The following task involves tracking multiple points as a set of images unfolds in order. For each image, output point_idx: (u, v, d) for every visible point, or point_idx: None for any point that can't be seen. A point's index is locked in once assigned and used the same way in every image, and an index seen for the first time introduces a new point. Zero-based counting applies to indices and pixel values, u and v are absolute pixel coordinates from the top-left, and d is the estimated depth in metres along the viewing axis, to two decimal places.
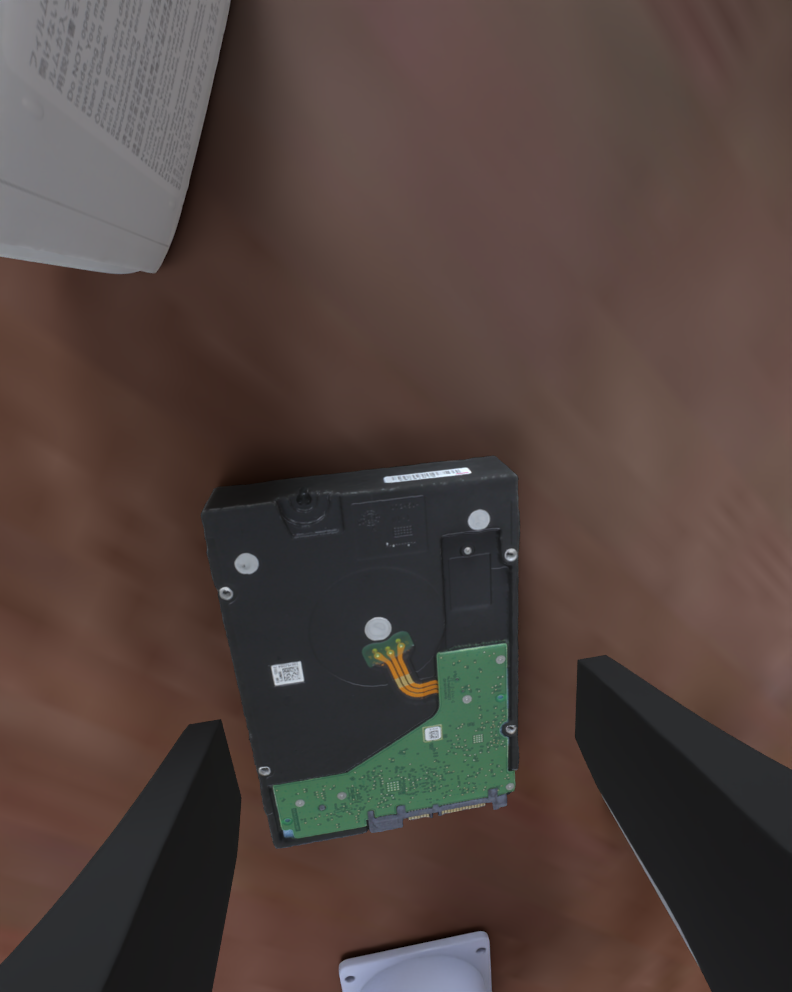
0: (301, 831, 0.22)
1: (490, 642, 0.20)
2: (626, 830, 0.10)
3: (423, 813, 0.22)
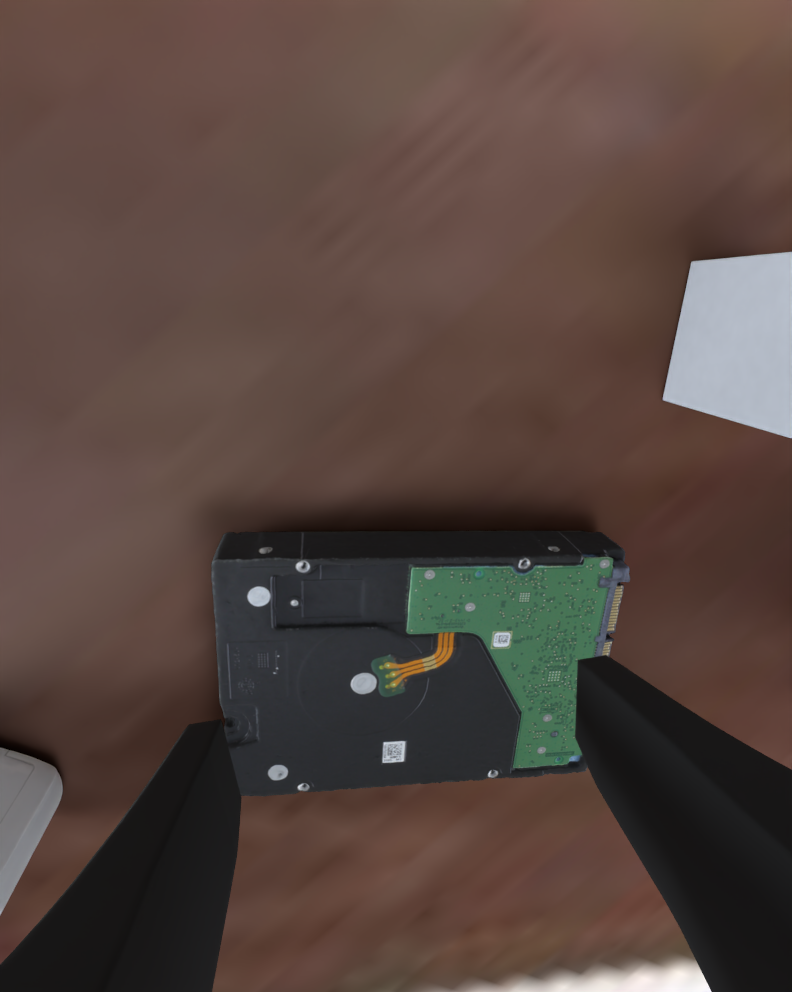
0: (575, 750, 0.22)
1: (408, 580, 0.19)
2: (626, 830, 0.10)
3: (600, 651, 0.21)
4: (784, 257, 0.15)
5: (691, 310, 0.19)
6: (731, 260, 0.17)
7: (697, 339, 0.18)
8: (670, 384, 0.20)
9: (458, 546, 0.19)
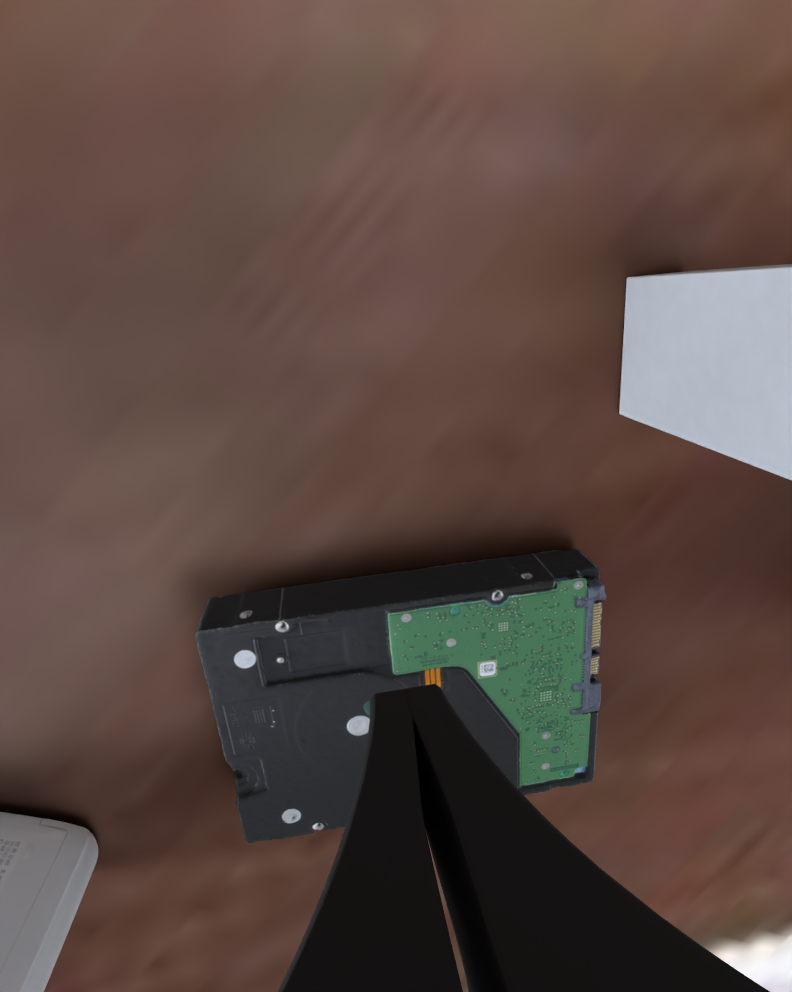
0: (579, 763, 0.23)
1: (387, 625, 0.19)
2: (437, 867, 0.10)
3: (588, 667, 0.21)
4: (704, 277, 0.15)
5: (632, 326, 0.19)
6: (660, 278, 0.17)
7: (641, 355, 0.18)
8: (623, 399, 0.20)
9: (432, 585, 0.20)
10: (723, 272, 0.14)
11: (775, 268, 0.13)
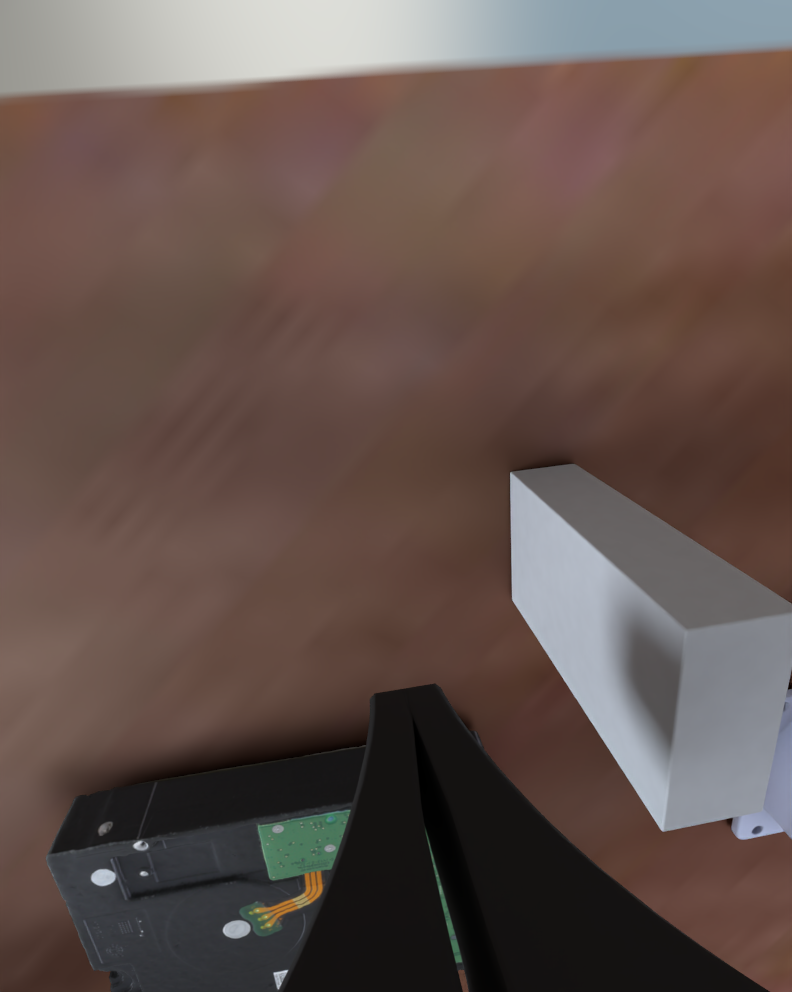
0: None
1: (259, 834, 0.18)
2: (437, 867, 0.10)
3: None
4: (562, 524, 0.14)
5: (516, 523, 0.18)
6: (532, 495, 0.16)
7: (523, 558, 0.17)
8: (514, 589, 0.19)
9: (310, 787, 0.19)
10: (575, 532, 0.13)
11: (612, 564, 0.11)
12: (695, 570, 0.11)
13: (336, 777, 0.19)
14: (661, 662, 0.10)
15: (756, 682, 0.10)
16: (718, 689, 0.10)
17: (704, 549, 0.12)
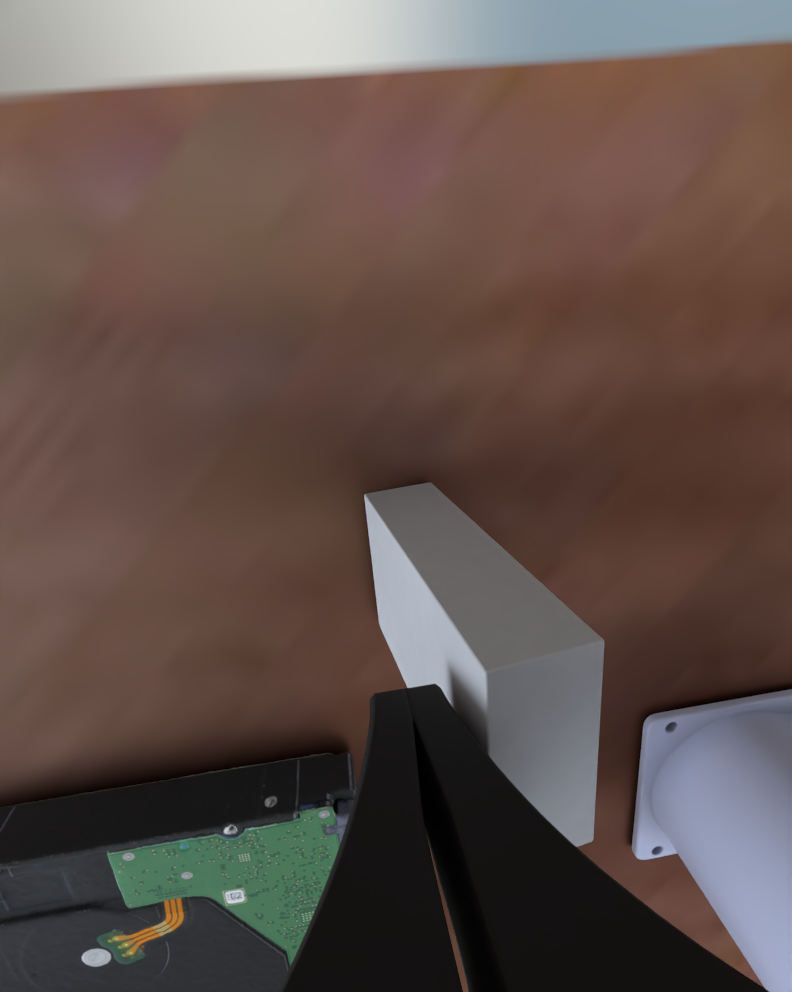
0: None
1: (111, 861, 0.18)
2: (437, 867, 0.10)
3: None
4: (400, 552, 0.13)
5: (373, 546, 0.17)
6: (379, 520, 0.15)
7: (381, 583, 0.17)
8: (379, 613, 0.18)
9: (167, 812, 0.18)
10: (408, 561, 0.12)
11: (434, 597, 0.11)
12: (513, 599, 0.11)
13: (196, 802, 0.18)
14: (473, 703, 0.10)
15: (567, 716, 0.09)
16: (528, 728, 0.09)
17: (528, 574, 0.11)
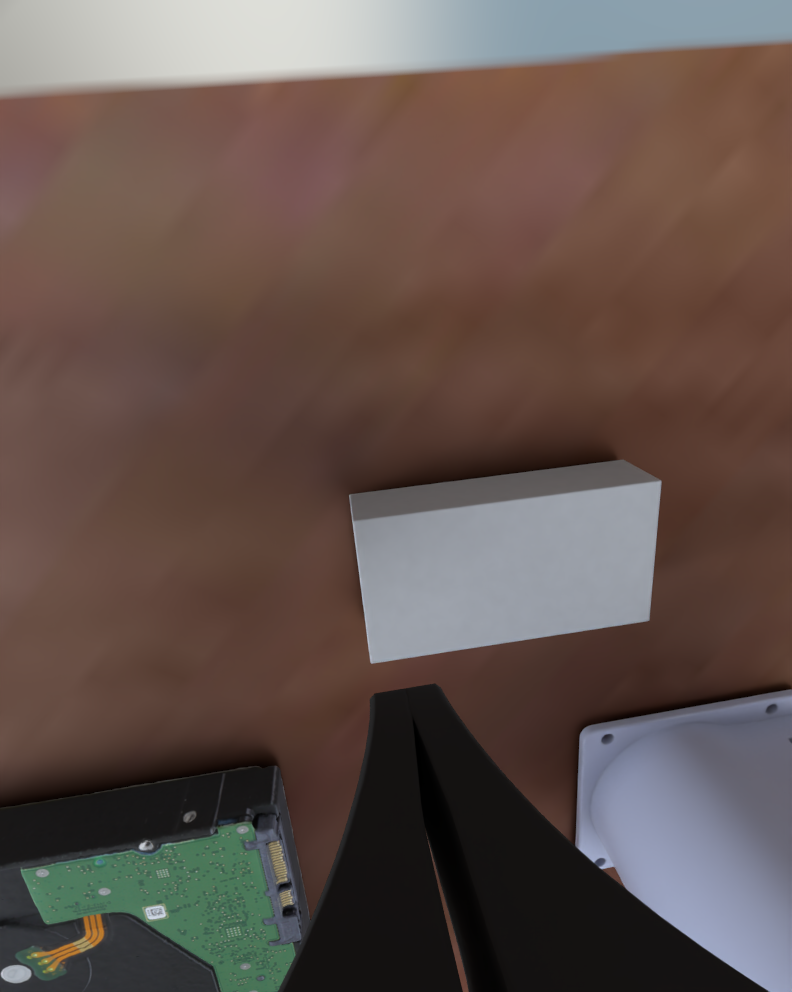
0: None
1: (26, 878, 0.18)
2: (437, 867, 0.10)
3: (275, 904, 0.19)
4: (497, 506, 0.15)
5: (378, 568, 0.16)
6: (425, 514, 0.15)
7: (404, 593, 0.16)
8: (378, 646, 0.16)
9: (84, 827, 0.18)
10: (522, 499, 0.15)
11: (580, 491, 0.15)
12: (583, 473, 0.17)
13: (115, 817, 0.18)
14: (641, 516, 0.16)
15: None
16: None
17: (551, 469, 0.17)
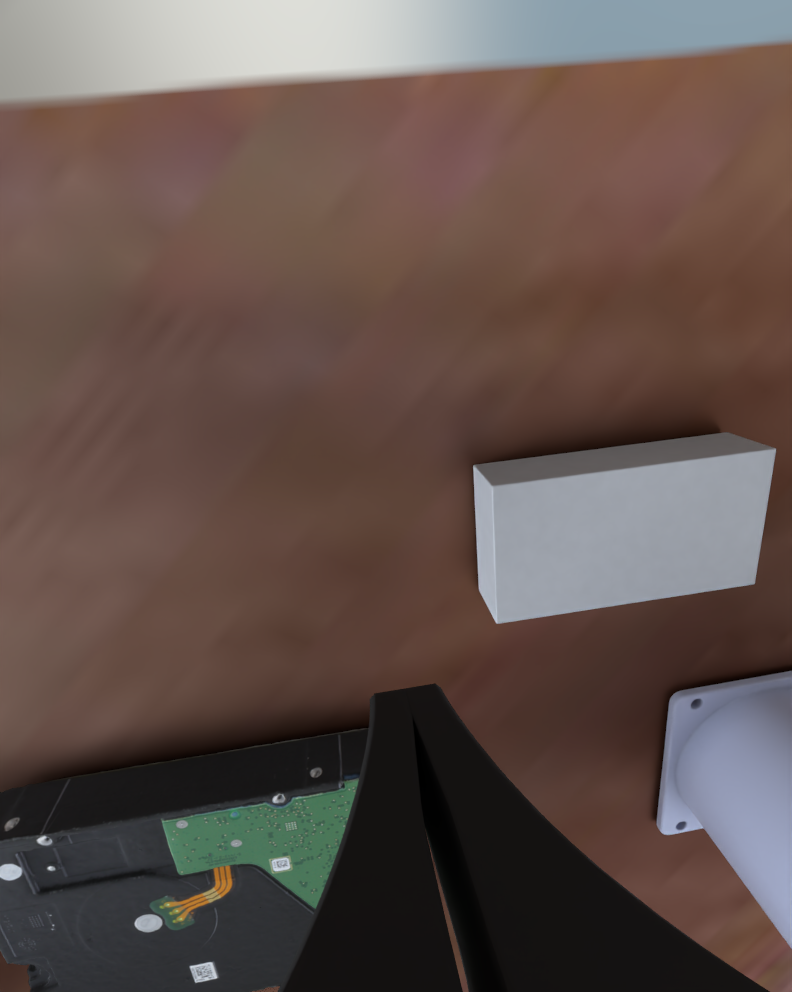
0: None
1: (164, 829, 0.19)
2: (437, 867, 0.10)
3: None
4: (624, 472, 0.16)
5: (511, 532, 0.17)
6: (558, 480, 0.16)
7: (533, 556, 0.17)
8: (504, 606, 0.17)
9: (217, 783, 0.19)
10: (647, 466, 0.16)
11: (701, 458, 0.16)
12: (695, 443, 0.18)
13: (243, 773, 0.19)
14: (755, 483, 0.17)
15: None
16: None
17: (660, 441, 0.18)
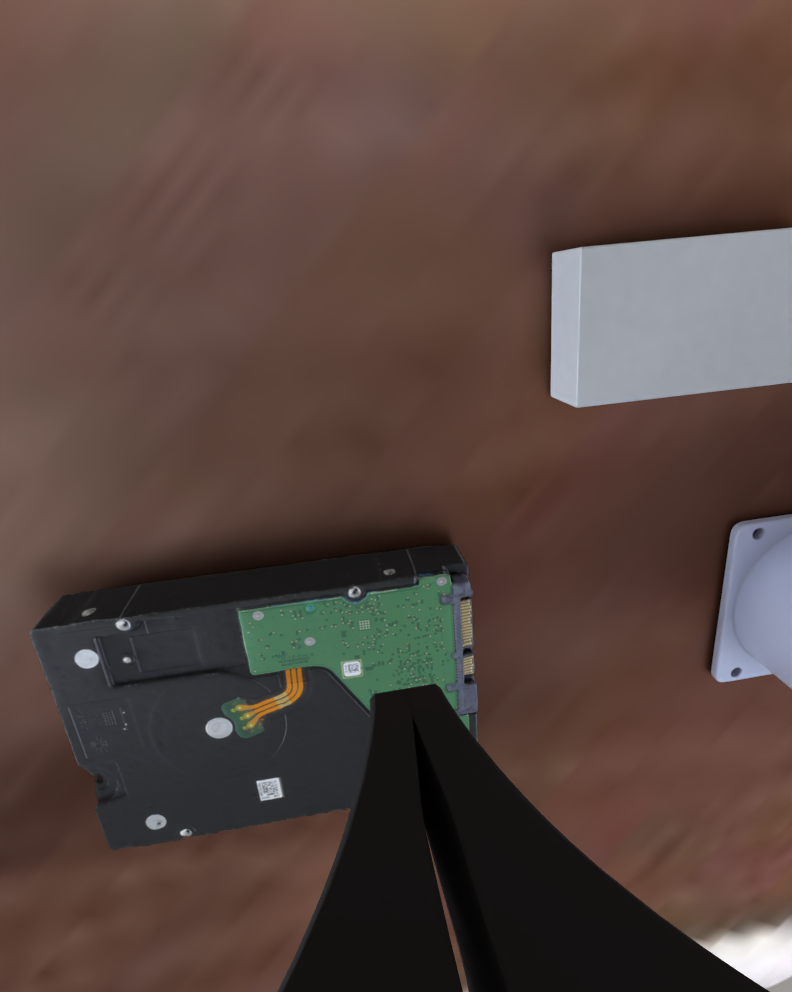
0: None
1: (239, 623, 0.19)
2: (437, 868, 0.10)
3: (460, 667, 0.20)
4: (711, 240, 0.16)
5: (597, 301, 0.17)
6: (646, 244, 0.16)
7: (616, 331, 0.17)
8: (585, 388, 0.17)
9: (290, 581, 0.19)
10: (734, 234, 0.16)
11: (786, 228, 0.17)
12: None
13: (316, 575, 0.19)
14: None
15: None
16: None
17: None
